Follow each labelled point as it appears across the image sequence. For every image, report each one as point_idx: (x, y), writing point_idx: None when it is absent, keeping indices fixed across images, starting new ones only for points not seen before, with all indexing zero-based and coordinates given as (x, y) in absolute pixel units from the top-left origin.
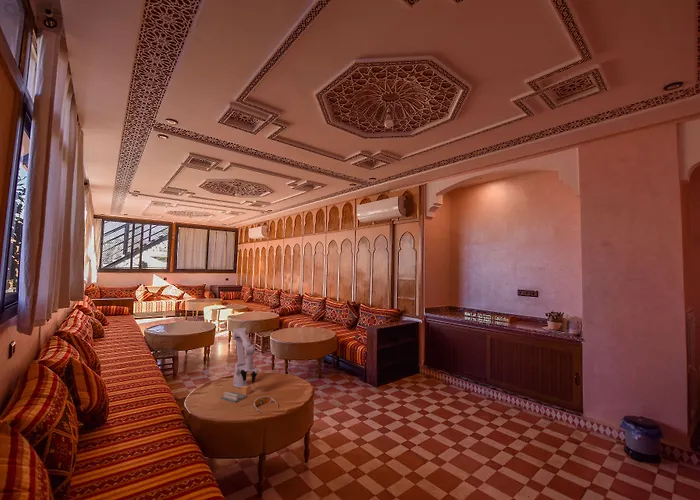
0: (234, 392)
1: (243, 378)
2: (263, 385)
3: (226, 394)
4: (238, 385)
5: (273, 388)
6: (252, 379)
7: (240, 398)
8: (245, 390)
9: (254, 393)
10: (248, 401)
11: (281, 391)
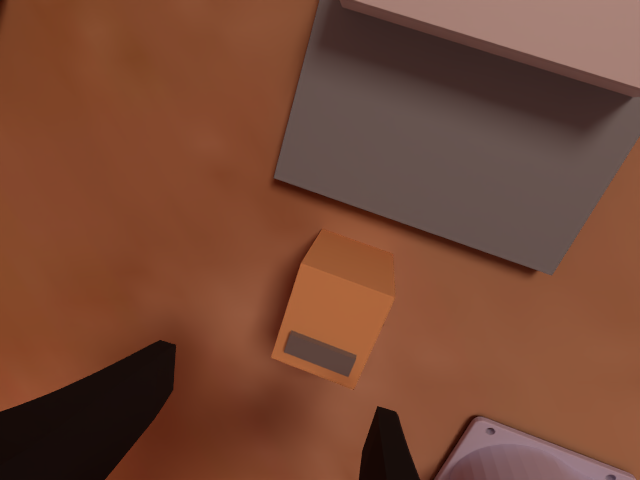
0: (511, 250)
1: (388, 455)
2: (254, 466)
3: (625, 19)
4: (538, 457)
5: None
6: (98, 376)
7: (317, 51)
8: (323, 253)
9: (242, 280)
10: (186, 31)
11: (19, 344)
